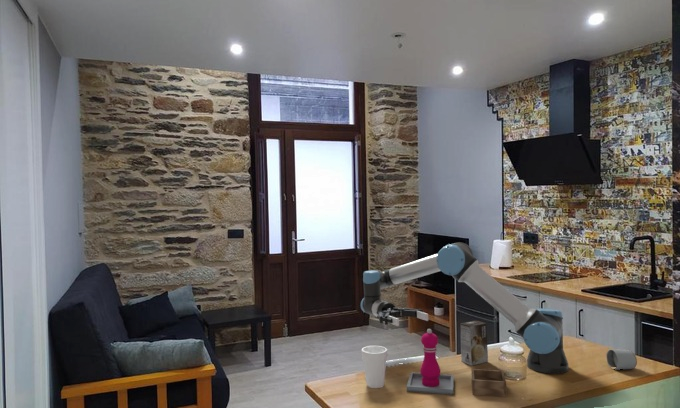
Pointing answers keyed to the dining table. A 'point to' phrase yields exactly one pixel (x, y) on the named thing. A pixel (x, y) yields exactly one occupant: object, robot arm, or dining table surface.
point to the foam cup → (374, 365)
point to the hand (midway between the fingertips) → (413, 319)
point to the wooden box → (488, 382)
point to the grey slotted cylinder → (621, 359)
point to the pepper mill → (430, 360)
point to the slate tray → (443, 388)
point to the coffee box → (474, 342)
